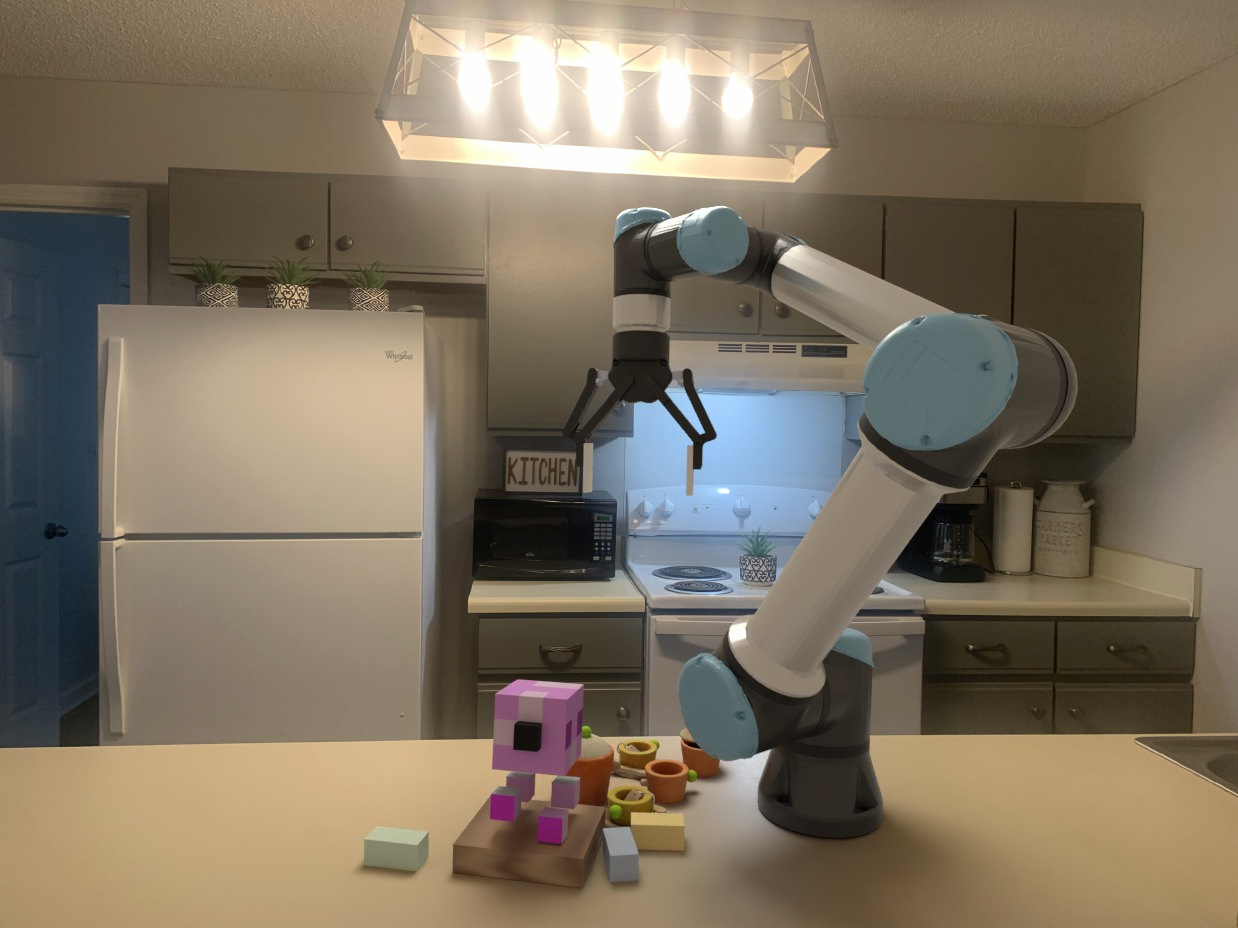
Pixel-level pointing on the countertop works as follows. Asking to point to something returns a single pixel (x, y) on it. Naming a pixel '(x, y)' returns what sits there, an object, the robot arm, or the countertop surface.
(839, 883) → the countertop surface
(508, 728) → the toy
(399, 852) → the brick sage
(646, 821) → the brick ochre
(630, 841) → the brick slate
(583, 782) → the toy tea set
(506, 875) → the pedestal
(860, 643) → the robot arm
